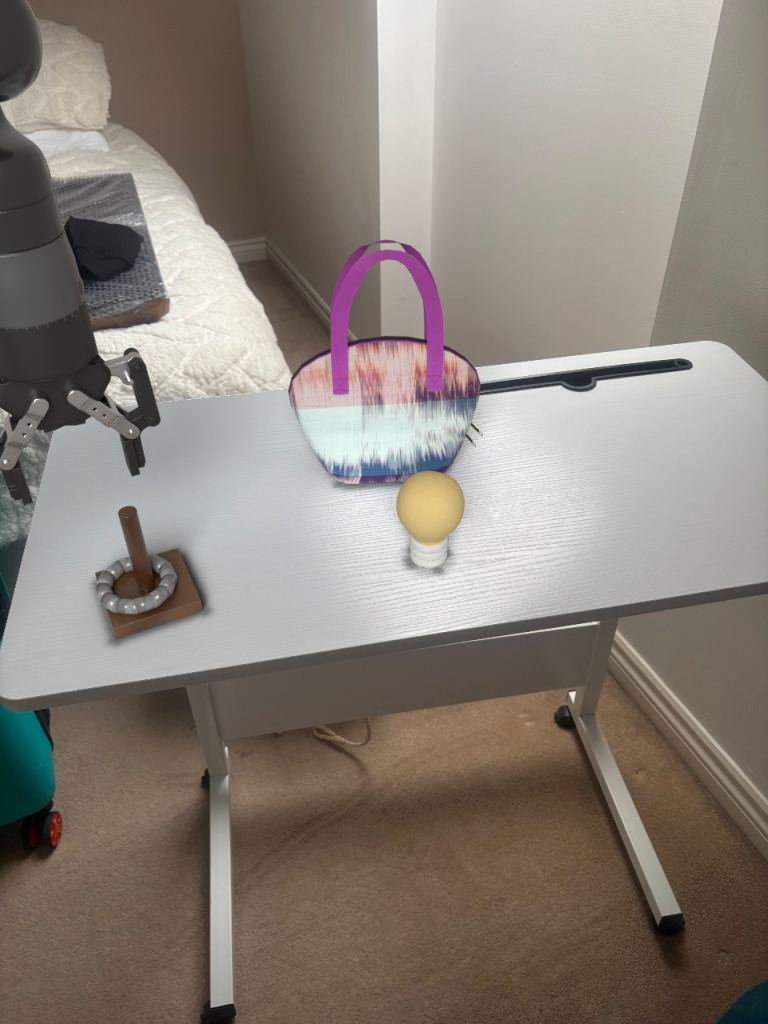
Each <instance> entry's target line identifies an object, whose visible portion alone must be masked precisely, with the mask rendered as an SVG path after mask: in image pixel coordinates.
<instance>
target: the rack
mask: <svg viewBox="0 0 768 1024" xmlns="http://www.w3.org/2000/svg"><path fill="white" fill-rule="evenodd" d="M117 516H118V519H119V523H120V528H121V530H122V534H123V538H124V541H125V545H126V549H127V553H128V557H130V560H131V564H132V568H133V571H131V572H127V573H125V574H123V575H122V576H121V577H119V578H118V579H117V580H115V582H114V584H113V586H112V591H113V594H115V595H117V596H118V597H120V598H131V599H135V598H138V597H141V596H145V595H148V594H150V593H151V592H152V591H153V590H155V589H156V588H157V587H158V586H159V584H160V581H161V577H160V574H159V573H157V572H155V571H153V570H152V568H151V564H150V560H149V556H148V555H149V552H148V548H147V545H146V541H145V536H144V533H143V529H142V524H141V521H140V517H139V513H138V509H137V508H136V507H135V506H133V505H125V506H122V507H120V508H119V510H118V511H117ZM154 555H157V556H159V557H161V558H163V559H164V560H166V561H168V562H170V563H171V564H172V565H173V568H174V570H175V572H176V575H177V578H178V580H177V583H176V586H175V588H174V591H173V594H172V595H171V596H170V597H169V598H168V599H167V600H166V601H164V602H163V603H162V604H161V605H160V606H158V607H157V608H155V609H152V610H149V611H146V612H143V613H140V614H117V613H114V612H112V611H110V610H109V609H107V608H105V610H106V613H107V616H108V619H109V623H110V625H111V629H112V632H113V635H114V637H115V640H120V639H124V638H126V637H130V636H132V635H135V634H138V633H141V632H144V631H148V630H151V629H153V628H157V627H159V626H162V625H166V624H168V623H171V622H174V621H178V620H181V619H185V618H187V617H189V616H193V615H195V614H198V613H201V612H203V611H204V609H203V608H204V607H203V603H202V600H201V597H200V595H199V593H198V590H197V588H196V586H195V584H194V581H193V580H192V577H191V575H190V573H189V570H188V568H187V566H186V564H185V561H184V559H183V557H182V554H181V552H180V550H179V548H178V547H176V548H172V549H169V550H166V551H163V552H159V553H156V554H154ZM102 571H103V570H100V571H96V572H95V573H94V575H95V578H96V582H97V581H98V579H99V577H100V575H101V573H102Z"/></svg>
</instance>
